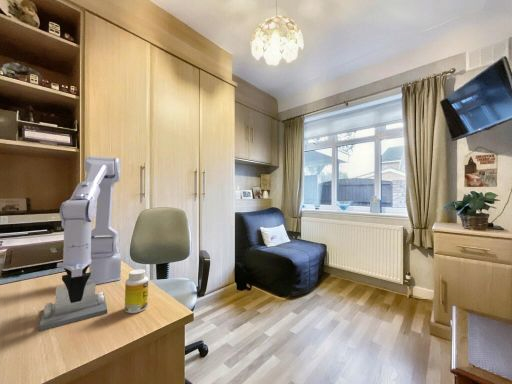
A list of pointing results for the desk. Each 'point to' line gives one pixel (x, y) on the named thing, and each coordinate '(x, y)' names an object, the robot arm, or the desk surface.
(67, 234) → the robot arm
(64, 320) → the pin tray
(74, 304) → the block
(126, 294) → the supplement bottle
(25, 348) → the desk surface
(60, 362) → the desk surface
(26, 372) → the desk surface
